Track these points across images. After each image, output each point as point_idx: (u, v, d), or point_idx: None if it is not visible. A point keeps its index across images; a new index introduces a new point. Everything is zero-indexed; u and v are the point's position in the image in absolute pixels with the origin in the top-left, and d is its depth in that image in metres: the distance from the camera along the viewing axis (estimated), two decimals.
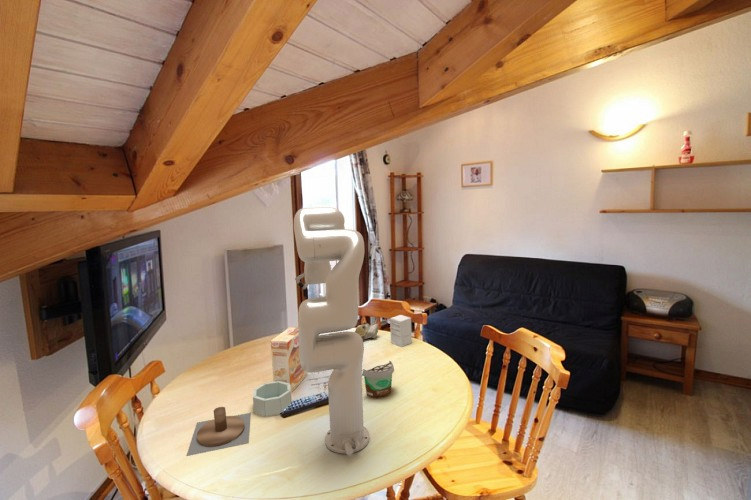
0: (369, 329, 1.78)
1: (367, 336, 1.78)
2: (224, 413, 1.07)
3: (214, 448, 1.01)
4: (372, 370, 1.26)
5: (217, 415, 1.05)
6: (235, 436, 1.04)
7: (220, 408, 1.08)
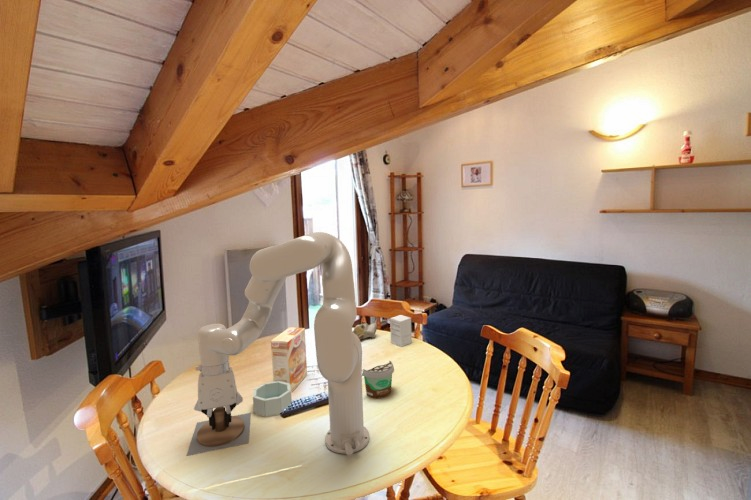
0: (368, 329, 1.79)
1: (366, 335, 1.79)
2: (224, 413, 1.07)
3: (214, 448, 1.01)
4: (372, 370, 1.26)
5: (217, 415, 1.05)
6: (235, 436, 1.04)
7: (220, 408, 1.08)
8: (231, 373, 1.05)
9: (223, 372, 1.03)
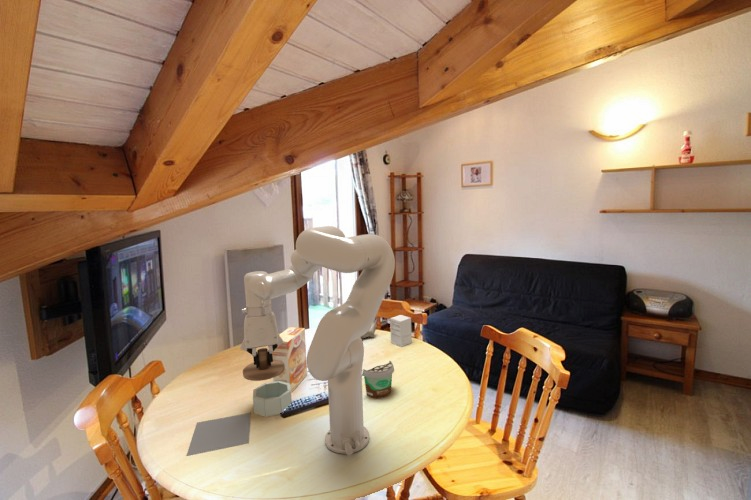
0: None
1: (365, 335, 1.79)
2: (267, 352, 1.17)
3: (214, 448, 1.01)
4: (372, 370, 1.26)
5: (261, 354, 1.16)
6: (278, 372, 1.15)
7: (263, 349, 1.18)
8: (274, 315, 1.15)
9: (267, 314, 1.14)
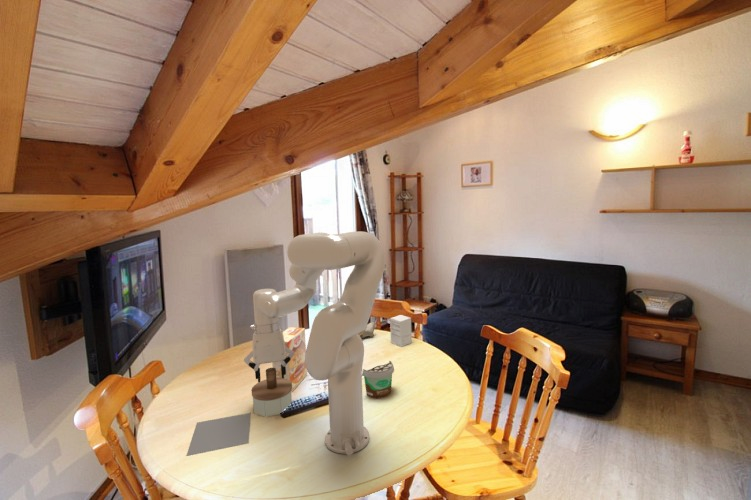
0: (367, 328, 1.81)
1: (365, 335, 1.80)
2: (275, 372, 1.20)
3: (214, 448, 1.01)
4: (372, 370, 1.26)
5: (269, 374, 1.18)
6: (286, 392, 1.17)
7: (271, 368, 1.21)
8: (281, 332, 1.18)
9: (275, 331, 1.16)
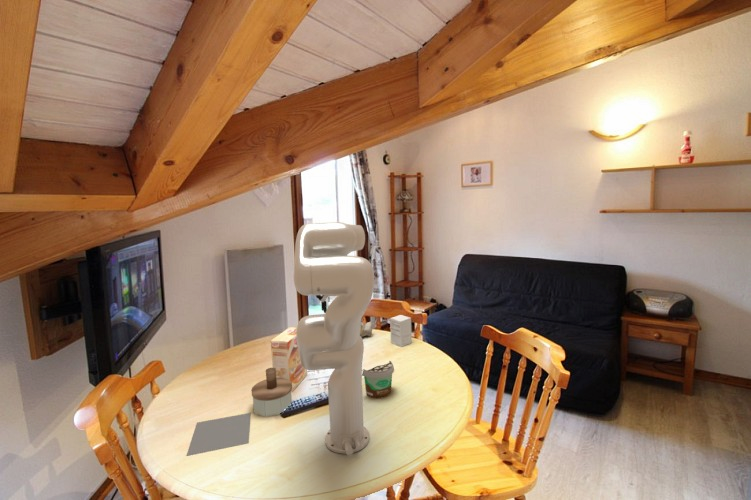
0: (365, 327, 1.82)
1: (363, 334, 1.81)
2: (275, 372, 1.20)
3: (214, 448, 1.01)
4: (372, 370, 1.26)
5: (269, 374, 1.18)
6: (286, 392, 1.17)
7: (271, 368, 1.21)
8: None
9: None
